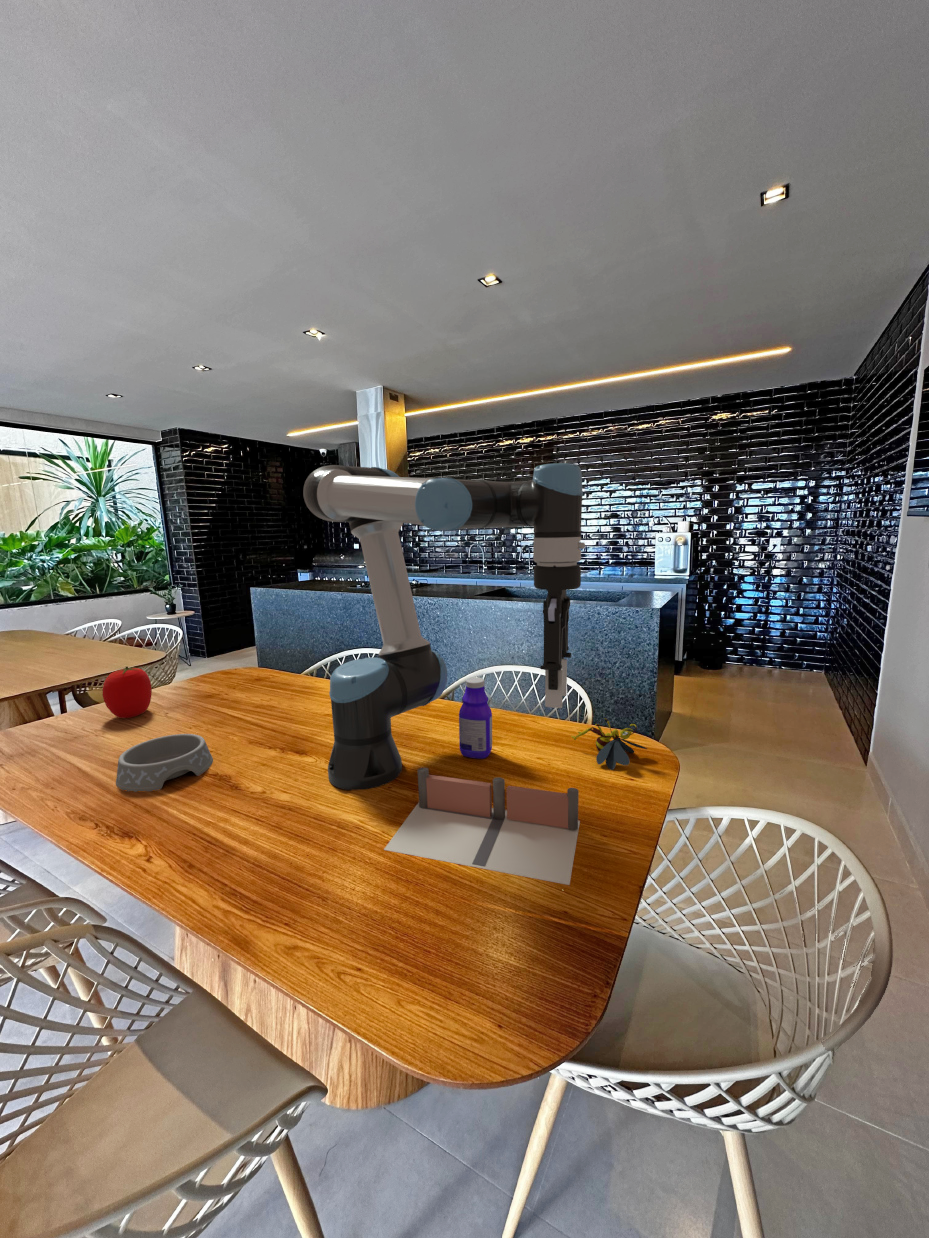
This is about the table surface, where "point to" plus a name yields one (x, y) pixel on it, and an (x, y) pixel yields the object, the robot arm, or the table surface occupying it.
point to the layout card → (488, 843)
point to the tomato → (127, 692)
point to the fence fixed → (461, 795)
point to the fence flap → (543, 806)
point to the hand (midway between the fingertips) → (556, 700)
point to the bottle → (475, 721)
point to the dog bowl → (162, 761)
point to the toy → (612, 745)
